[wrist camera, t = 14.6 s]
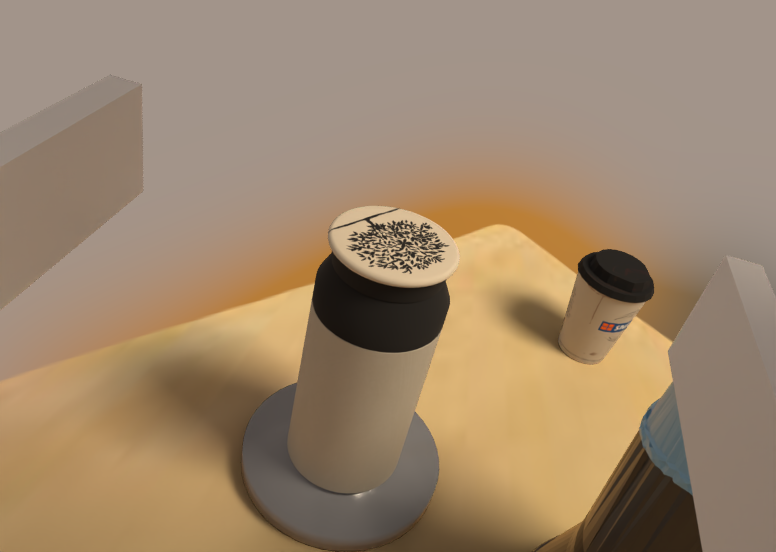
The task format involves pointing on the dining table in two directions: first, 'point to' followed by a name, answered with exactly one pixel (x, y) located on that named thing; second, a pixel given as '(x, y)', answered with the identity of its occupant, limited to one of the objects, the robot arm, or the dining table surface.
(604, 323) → the coffee cup
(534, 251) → the dining table surface
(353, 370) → the travel mug
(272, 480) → the charcoal plate
